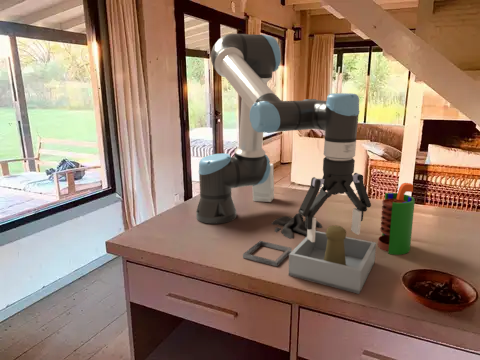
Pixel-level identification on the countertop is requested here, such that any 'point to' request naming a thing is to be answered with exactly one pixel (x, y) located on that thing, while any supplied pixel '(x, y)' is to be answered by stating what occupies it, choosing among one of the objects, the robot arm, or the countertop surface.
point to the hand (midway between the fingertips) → (333, 236)
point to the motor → (397, 221)
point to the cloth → (292, 225)
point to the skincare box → (265, 189)
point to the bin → (332, 274)
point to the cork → (335, 245)
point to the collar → (264, 260)
